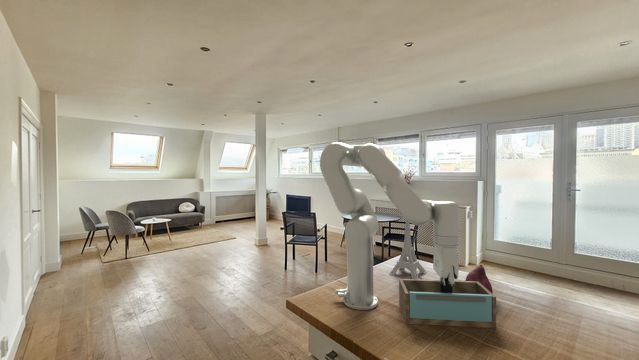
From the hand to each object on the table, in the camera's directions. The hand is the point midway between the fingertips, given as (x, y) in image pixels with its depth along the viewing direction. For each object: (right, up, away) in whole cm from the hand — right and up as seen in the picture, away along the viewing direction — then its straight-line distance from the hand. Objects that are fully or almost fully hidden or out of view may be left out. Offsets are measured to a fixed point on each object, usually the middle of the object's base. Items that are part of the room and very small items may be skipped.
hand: (446, 296), depth 87 cm
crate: (0, -7, +3) cm, 8 cm away
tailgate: (0, -6, -3) cm, 7 cm away
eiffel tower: (+1, -7, +41) cm, 41 cm away
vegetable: (+19, -7, +15) cm, 25 cm away
